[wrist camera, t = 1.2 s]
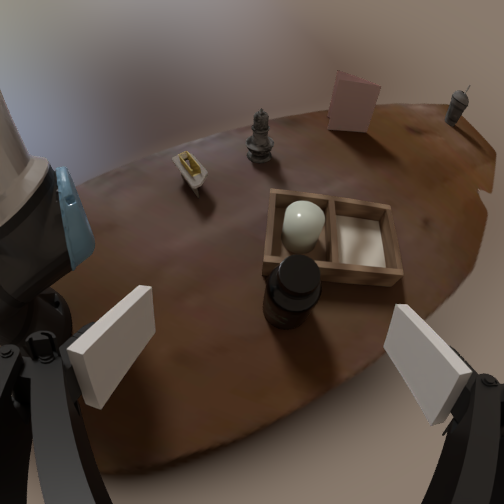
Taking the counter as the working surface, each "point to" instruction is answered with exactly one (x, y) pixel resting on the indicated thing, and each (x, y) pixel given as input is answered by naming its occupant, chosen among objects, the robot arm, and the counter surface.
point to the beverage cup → (456, 107)
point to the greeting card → (352, 103)
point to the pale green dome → (302, 226)
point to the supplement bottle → (292, 292)
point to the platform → (190, 170)
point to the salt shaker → (260, 139)
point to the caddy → (340, 239)
